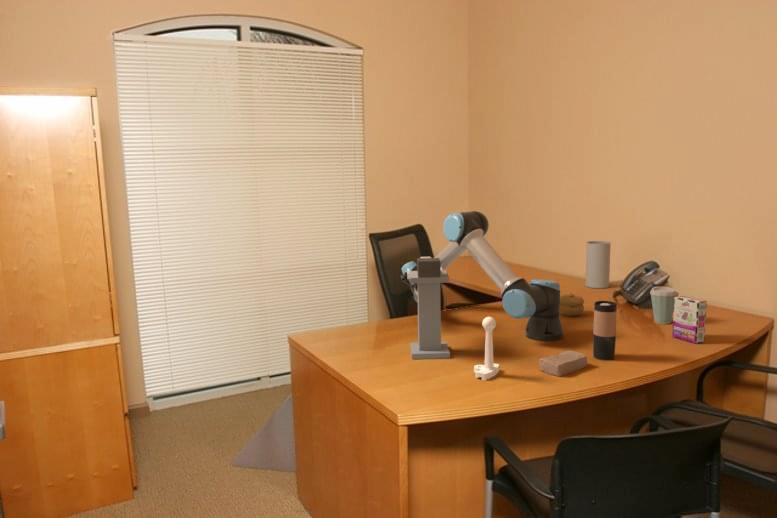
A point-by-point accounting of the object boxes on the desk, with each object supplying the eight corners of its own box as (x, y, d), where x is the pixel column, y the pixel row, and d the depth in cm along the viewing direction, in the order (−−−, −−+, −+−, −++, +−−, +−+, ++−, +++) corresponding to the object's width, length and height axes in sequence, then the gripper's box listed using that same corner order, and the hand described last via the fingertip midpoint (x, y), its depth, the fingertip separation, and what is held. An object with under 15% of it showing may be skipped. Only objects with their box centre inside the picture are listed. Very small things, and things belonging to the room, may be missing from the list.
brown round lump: (580, 311, 277) (581, 291, 275) (586, 318, 265) (587, 296, 264) (555, 311, 278) (555, 291, 276) (560, 318, 267) (560, 296, 265)
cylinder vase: (589, 283, 340) (590, 240, 336) (611, 285, 332) (613, 241, 328) (582, 287, 330) (583, 243, 326) (605, 289, 322) (606, 244, 318)
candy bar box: (705, 342, 226) (707, 300, 224) (695, 344, 224) (698, 302, 222) (680, 335, 236) (682, 295, 234) (671, 336, 234) (673, 296, 232)
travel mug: (614, 354, 215) (616, 301, 212) (615, 361, 208) (617, 306, 204) (592, 353, 217) (594, 300, 214) (592, 359, 210) (594, 305, 207)
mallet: (415, 266, 235) (415, 252, 234) (435, 266, 235) (435, 251, 234) (418, 277, 212) (418, 261, 211) (440, 277, 212) (440, 260, 211)
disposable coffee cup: (678, 326, 249) (680, 291, 247) (651, 325, 251) (653, 290, 249) (671, 319, 260) (673, 286, 257) (645, 318, 262) (647, 285, 259)
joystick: (488, 381, 192) (488, 321, 189) (467, 376, 196) (466, 318, 193) (501, 370, 201) (502, 314, 198) (481, 367, 205) (481, 311, 202)
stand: (410, 346, 231) (408, 271, 226) (446, 345, 231) (445, 270, 226) (411, 359, 215) (410, 278, 211) (450, 358, 215) (449, 277, 211)
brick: (568, 360, 210) (568, 348, 209) (588, 366, 204) (588, 353, 203) (538, 371, 200) (538, 358, 200) (558, 378, 194) (558, 364, 193)
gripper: (451, 294, 261) (455, 278, 241) (395, 295, 261) (394, 280, 241) (450, 278, 264) (454, 261, 244) (394, 279, 264) (394, 262, 244)
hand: (424, 270), depth 243 cm, fingers open, 13 cm apart
